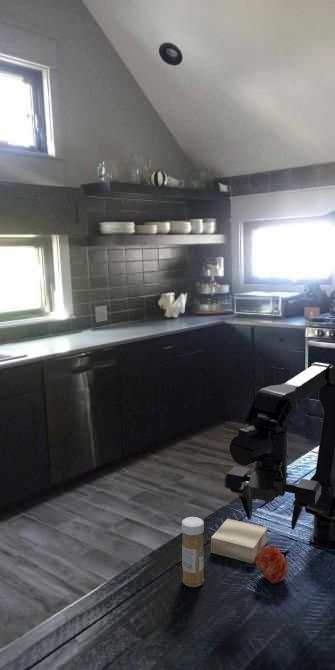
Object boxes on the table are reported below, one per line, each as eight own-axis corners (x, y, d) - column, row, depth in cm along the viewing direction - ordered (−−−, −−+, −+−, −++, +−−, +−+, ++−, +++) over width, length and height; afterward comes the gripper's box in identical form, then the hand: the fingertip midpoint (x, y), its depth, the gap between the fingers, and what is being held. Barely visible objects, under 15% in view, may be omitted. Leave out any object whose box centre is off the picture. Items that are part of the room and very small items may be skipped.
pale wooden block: (227, 533, 138) (227, 518, 137) (267, 543, 133) (267, 527, 132) (210, 553, 129) (211, 537, 128) (252, 565, 124) (253, 548, 124)
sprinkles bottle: (208, 583, 117) (208, 522, 115) (190, 590, 115) (190, 529, 113) (195, 572, 121) (195, 513, 119) (177, 579, 118) (177, 519, 116)
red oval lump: (259, 600, 115) (300, 576, 113) (238, 569, 116) (278, 545, 114) (262, 583, 122) (300, 560, 120) (242, 554, 123) (280, 530, 121)
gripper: (214, 457, 111) (213, 531, 114) (309, 474, 103) (306, 554, 105) (234, 439, 121) (233, 508, 123) (323, 454, 112) (320, 527, 115)
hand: (271, 523), depth 117 cm, fingers open, 9 cm apart
